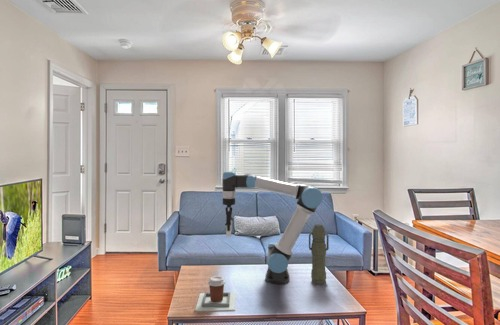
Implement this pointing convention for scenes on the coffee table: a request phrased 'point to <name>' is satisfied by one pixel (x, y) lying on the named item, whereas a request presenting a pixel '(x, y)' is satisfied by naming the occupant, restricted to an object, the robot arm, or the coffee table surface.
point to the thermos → (318, 254)
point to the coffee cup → (216, 289)
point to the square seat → (207, 305)
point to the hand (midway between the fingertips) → (229, 233)
